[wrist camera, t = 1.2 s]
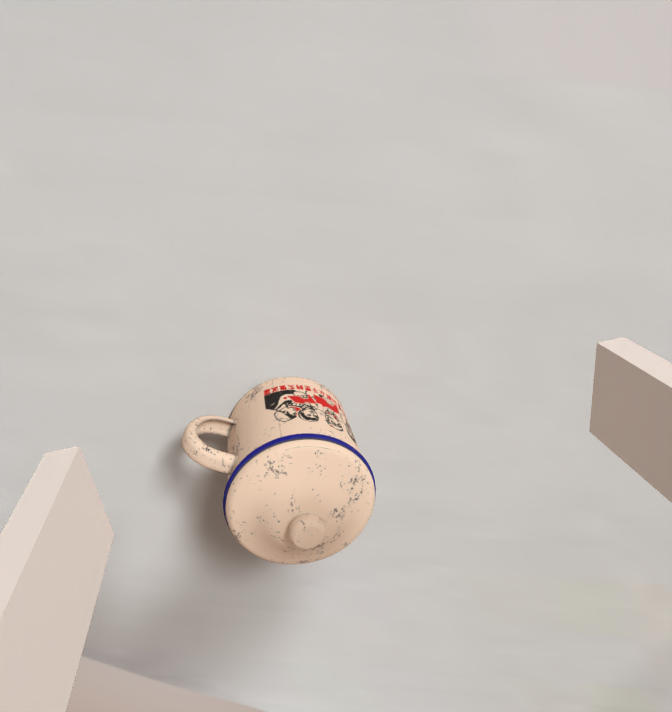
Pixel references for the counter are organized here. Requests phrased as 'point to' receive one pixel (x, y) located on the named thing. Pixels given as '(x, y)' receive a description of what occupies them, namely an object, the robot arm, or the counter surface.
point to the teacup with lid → (288, 471)
